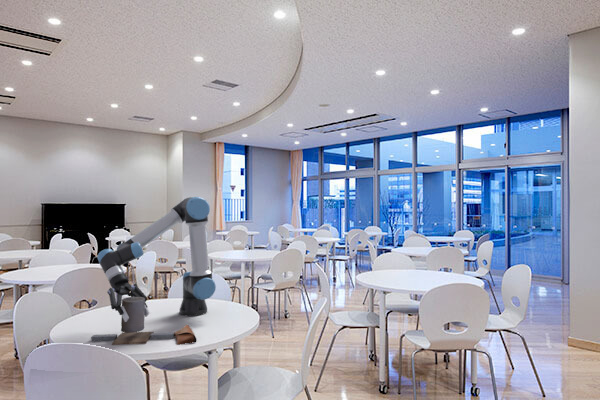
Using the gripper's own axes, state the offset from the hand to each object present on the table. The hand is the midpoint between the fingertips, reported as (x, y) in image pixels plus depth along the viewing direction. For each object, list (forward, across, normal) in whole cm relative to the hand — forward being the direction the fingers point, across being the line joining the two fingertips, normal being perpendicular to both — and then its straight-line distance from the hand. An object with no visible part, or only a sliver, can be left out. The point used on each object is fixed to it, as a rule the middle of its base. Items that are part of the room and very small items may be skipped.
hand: (137, 317), depth 179 cm
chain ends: (+5, 0, -9) cm, 11 cm away
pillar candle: (+2, 0, -7) cm, 7 cm away
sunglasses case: (+18, -14, +3) cm, 23 cm away
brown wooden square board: (+5, 0, -9) cm, 11 cm away
